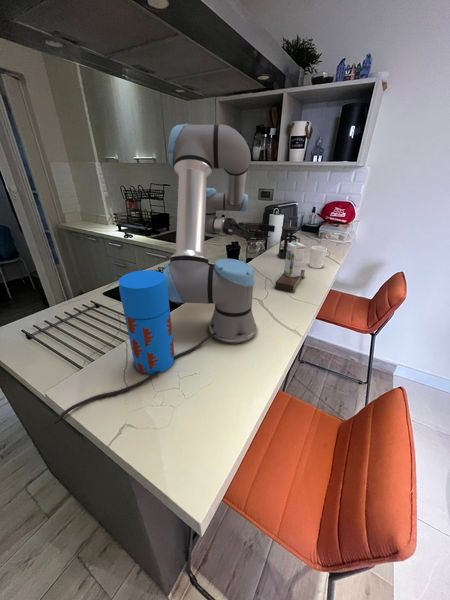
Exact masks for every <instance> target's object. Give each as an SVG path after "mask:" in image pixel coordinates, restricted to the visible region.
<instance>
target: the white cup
mask: <svg viewBox="0 0 450 600" xmlns="http://www.w3.org/2000/svg"><path fill="white" fill-rule="evenodd" d="M327 251H328V248H327V247H326V246H321V245H313V246H311V247H310V254H309V267H310V268H313V269H322V268H323V266H324V262H325V260H326V259H325V258H326V255H327Z"/></svg>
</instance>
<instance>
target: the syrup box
mask: <svg viewBox="0 0 450 600" xmlns="http://www.w3.org/2000/svg"><path fill="white" fill-rule="evenodd" d="M287 243H288V242H287ZM305 251H306V245H304V244H303V243H300V242H297V241H296V242H295V241H292V242H291V243H288V246H287V253H286V259H284V266H283V273H284V274H286V275H287V276H288V277H289V278H290V277H298V276H300V273H301V270H302V267H303V261H304V258H305V257H304V256H305Z"/></svg>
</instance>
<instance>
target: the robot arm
mask: <svg viewBox="0 0 450 600" xmlns="http://www.w3.org/2000/svg"><path fill="white" fill-rule="evenodd" d="M246 141H247V140H245V138H244V137H243V136H242V134H240V132H239V131H238V130H236V129H235V128H233V127H231V126H230V125H228V124H227V125H226V124H190V123H184V124H177V125H175V126H172V129H170V133H169V138H168V146H167V147H168V149H167V150H168V160H169V165H170V166H171V167H172V168H173V171H174V173H175V174H176V175H177V176H178V188H177V211H176V232H175V233H176V235H175V236H176V237H175V252H174V253H173V254H172V255H171V256H170V258H169V262H168V263H165V264H164V265H163V269H162V273H163V274H164V275H165V278H166V282H167V288H168V298H169V301H170V302H172V303H182V304H207V305H208V304H210V305H211V304H214V311H213V313H212V316H211V319H210V322H209V326H208V327H209V333H210V334H209V336H207V337H206V338H204V339H203V340H202V341H201V342H199V343H197V344H196V345H195V346H193V347H191V348H189V349H188V350H185V351H183V352H180V353H177V354H176V355H174V360H175V359H177V358H180V357H181V356H184V355H186V354H188V353H191V352H193V351H195V350H197V349H198V348H199V347H201V346H202V345H203V344H204V343H206V342H207V341H209V340H210V339H212V338H214V339H215V340H217V341H219V342H221V343H225V344H242V343H245V342H248V341H250V340H251V339H253V337H254V336H255V335H256V330H257V324H256V321H255V317H254V315H253V310H252V309H253V308H252V307H253V296H254V295H253V293H254V286H255V279H254V278H255V273H254V269H253V268H252V266H251V265H250V264H248V263H247V262H245V261H242V260H239V259H234V258H220V259H217V260H216V261H215V262H214V264H209V263H210V262H209V260H210V259H209V258H208V256H207V255H205V236H206V235H205V233H215V234H219V235H220V236H221V235H226V236H234V235H235V236H237V237H240V238H244V239H249V238H254V239H262V240H263V239H264V238H265V237H264V236H265V232H271V233H275V229H276V225H274V224H263V222H262V221H260V222H243V221H241V222H238V223H237V220H236V219H235V218H234V217H233V218H232V217H224V216H217V211H219V212H220V211H221V212H222V211H223V212H225V211H228V212H247V210H248V205H249V203H248V202H249V196H248V193H245V191H246V181H247V172H248V171H249V169H250V166H251V159H252V156H251V155H252V154H251V151H250V147H249V144H248V143H247V142H246ZM213 169H215V170H217V169H223V171H224V172H225V189H226V190H225V191H226V193H225V192H217V189H216V188H213V187H207V183H208V181H207V180H208V179H209V178H210V177H211V176H212V174H213ZM159 372H160V371H156V372H155V373H154V374H150V375H149V376H148V377H146V378H144V379H142V380H140V381H138V382H136V383H134V384H132V385H128V386H126V387H124V388H122V389H118V390H114V391H111V392H110V391H109V392H106V393H101V394H98V395H94V396H91V397H89V398H87V399H84V400H83V401H82V400H81V401H80V402H78V403H75V404H73V405H71V406H70V407H68V408H67V409H66V410H64V411H63V412H61V414H59V416H58V417H57V419H56V420H55V422H54V425H57V424H59V423H60V422H61V421H62V419H64V417H65V416H66V415H67V414H68V413H70V412H71V411H73V410H74V409H76V408H78V407H80V406H83V405H85V404H87V403H90V402H92V401H95V400H97V399H101V398H106V397H111V396H115V395H118V394H122V393H125V392H127V391H129V390H132V389H134V388H136V387H139V386H142V385H143V384H144V383H147V382H148V381H150V380H152V379H153V378H154V377H156V376H157V375H158V374H160V373H161V372H160V373H159ZM60 468H61V471H62V473H63V475H64V476H65V478H66V480H67V482H68V484H69V485H70V487H71V488H72V490H73V492H74V493H75V495H76V498H77V500H78V502H79V505H83V504H84V501H83V499H82V498H81V496H80V494H79V493H78V491H77V490H76V488H75V486H74V485H73V483H72V482H71V480H70V479H69V477H68V475H67V474H66V472H65V470H64V469H63V467H62V466H60Z"/></svg>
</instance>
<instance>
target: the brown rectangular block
mask: <svg viewBox="0 0 450 600" xmlns="http://www.w3.org/2000/svg"><path fill="white" fill-rule="evenodd" d="M305 272H306V270H305V269H301V273H300V276H298V277H290V278H289V277H288V276H287V275H286V274H284V272H283V273H282V274H281V275H280V276H279V277H278V278H277V280H275V285H274V289H275V290H278V291H282V292H287V293H291V294H293V293H294V292H295V287H296V285H297V284H298V283H299V281H300V280H301V279H304V277H305V274H306V273H305Z"/></svg>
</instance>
